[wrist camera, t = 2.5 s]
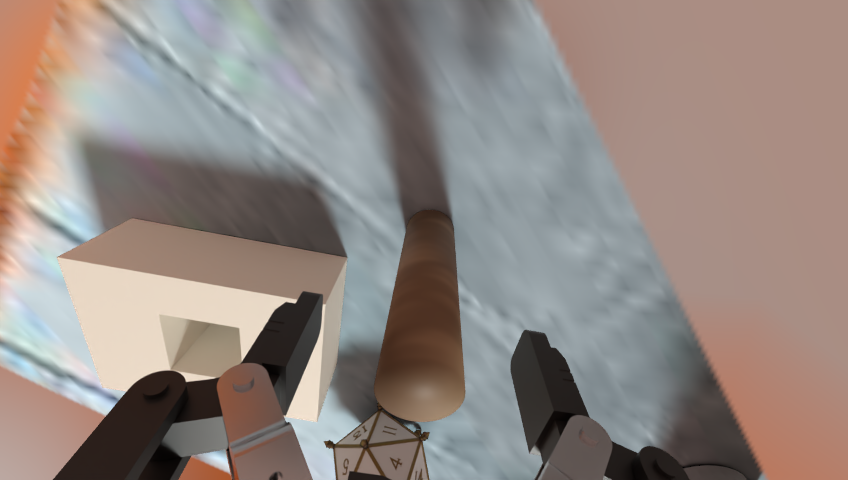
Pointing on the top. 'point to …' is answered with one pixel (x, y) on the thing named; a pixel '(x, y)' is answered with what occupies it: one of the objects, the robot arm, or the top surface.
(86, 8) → the top surface
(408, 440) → the game die
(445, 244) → the peg
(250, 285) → the hole block
